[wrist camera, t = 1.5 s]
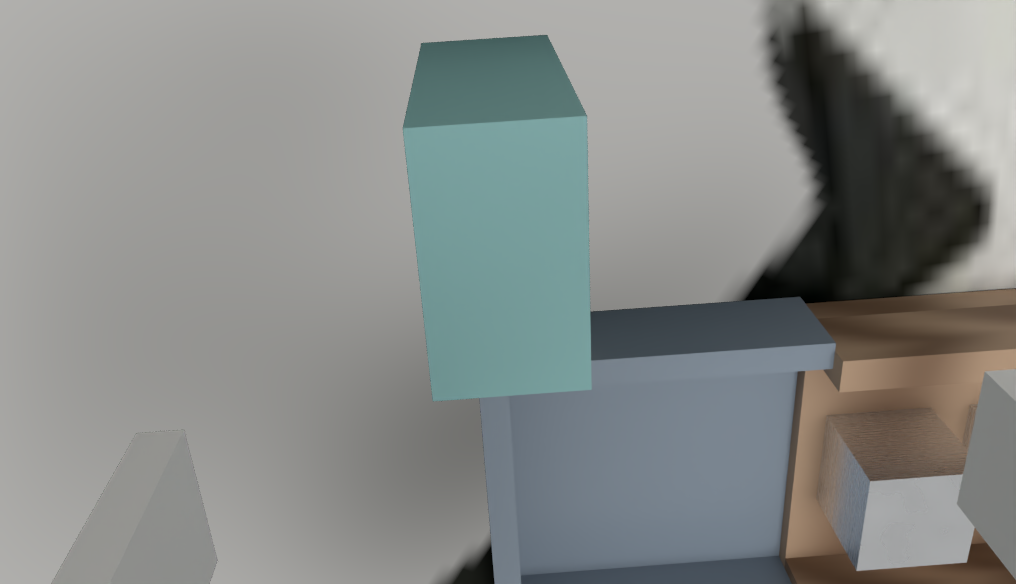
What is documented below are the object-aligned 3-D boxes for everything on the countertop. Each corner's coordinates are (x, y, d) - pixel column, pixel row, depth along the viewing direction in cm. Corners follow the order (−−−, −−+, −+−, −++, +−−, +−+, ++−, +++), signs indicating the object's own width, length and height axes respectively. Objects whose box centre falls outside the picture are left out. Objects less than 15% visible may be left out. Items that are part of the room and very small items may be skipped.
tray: (497, 586, 38) (500, 651, 35) (475, 319, 33) (476, 369, 29) (773, 565, 38) (801, 628, 35) (800, 296, 33) (836, 342, 30)
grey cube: (816, 498, 35) (856, 570, 32) (826, 414, 34) (870, 481, 30) (915, 491, 35) (966, 562, 32) (930, 407, 34) (987, 472, 30)
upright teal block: (441, 245, 31) (432, 401, 22) (421, 43, 28) (402, 128, 19) (554, 238, 31) (591, 389, 22) (546, 34, 28) (587, 115, 19)
